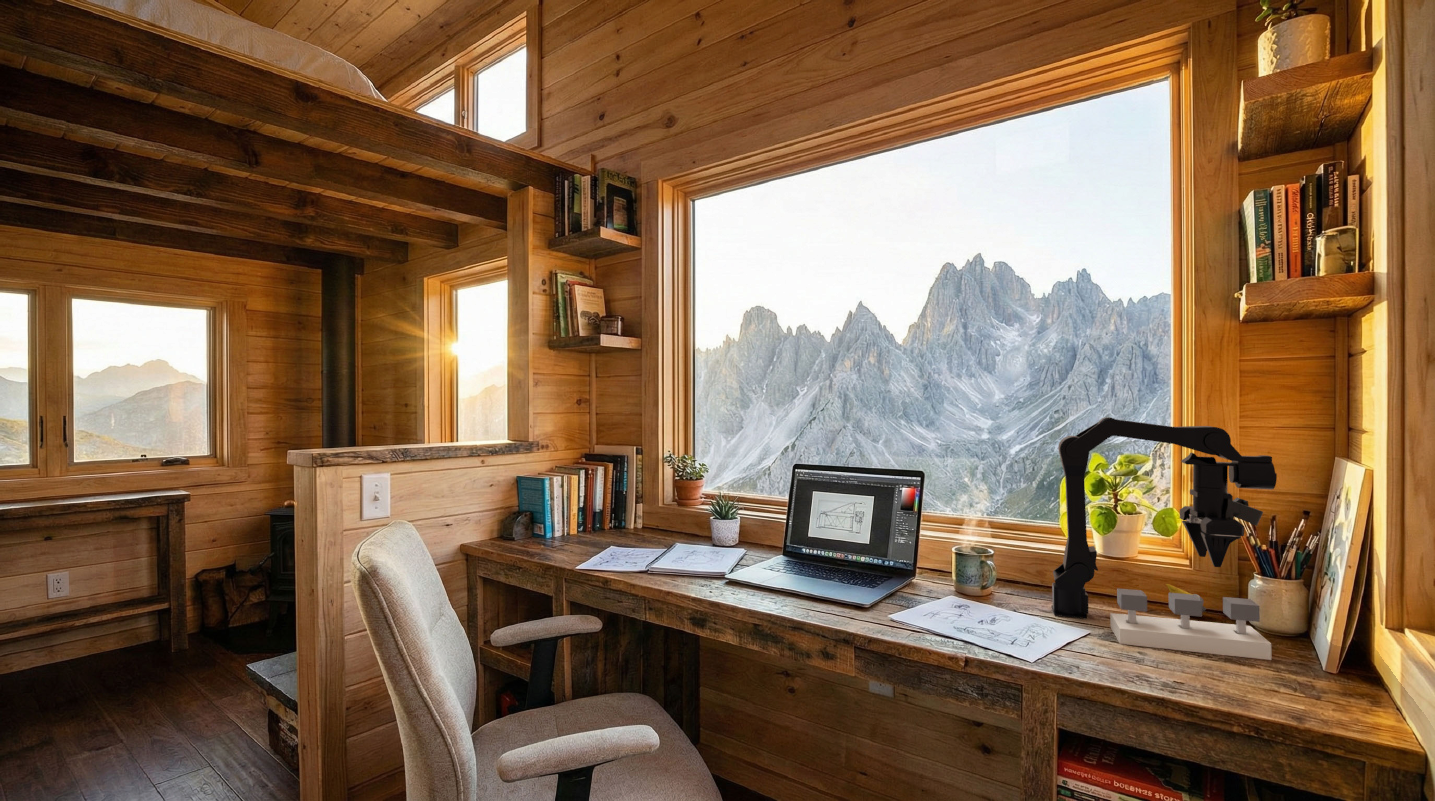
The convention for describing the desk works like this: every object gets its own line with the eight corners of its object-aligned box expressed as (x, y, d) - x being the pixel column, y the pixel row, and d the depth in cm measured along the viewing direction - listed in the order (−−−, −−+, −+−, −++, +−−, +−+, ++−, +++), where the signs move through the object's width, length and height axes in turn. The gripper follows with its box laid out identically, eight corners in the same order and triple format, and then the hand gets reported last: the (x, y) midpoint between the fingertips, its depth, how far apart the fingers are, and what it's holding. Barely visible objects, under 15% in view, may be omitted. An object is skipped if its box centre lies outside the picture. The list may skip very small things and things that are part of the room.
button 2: (1231, 635, 125) (1230, 603, 125) (1223, 627, 129) (1222, 596, 129) (1259, 637, 123) (1259, 605, 123) (1250, 630, 128) (1250, 599, 128)
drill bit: (1210, 623, 142) (1172, 590, 143) (1188, 626, 146) (1152, 594, 148) (1217, 604, 144) (1180, 572, 145) (1196, 608, 149) (1160, 576, 150)
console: (1120, 643, 129) (1119, 628, 129) (1110, 627, 139) (1110, 612, 139) (1271, 659, 121) (1271, 643, 121) (1250, 641, 130) (1250, 625, 130)
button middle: (1175, 629, 128) (1174, 598, 128) (1168, 622, 132) (1168, 592, 132) (1202, 632, 127) (1201, 601, 127) (1195, 624, 131) (1194, 594, 131)
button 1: (1121, 624, 132) (1121, 594, 132) (1117, 617, 136) (1117, 588, 136) (1147, 626, 130) (1147, 596, 130) (1142, 619, 134) (1141, 590, 134)
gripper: (1277, 495, 125) (1277, 577, 125) (1240, 483, 143) (1239, 554, 143) (1207, 491, 129) (1206, 571, 129) (1179, 480, 147) (1178, 550, 147)
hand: (1209, 561), depth 137 cm, fingers open, 9 cm apart
